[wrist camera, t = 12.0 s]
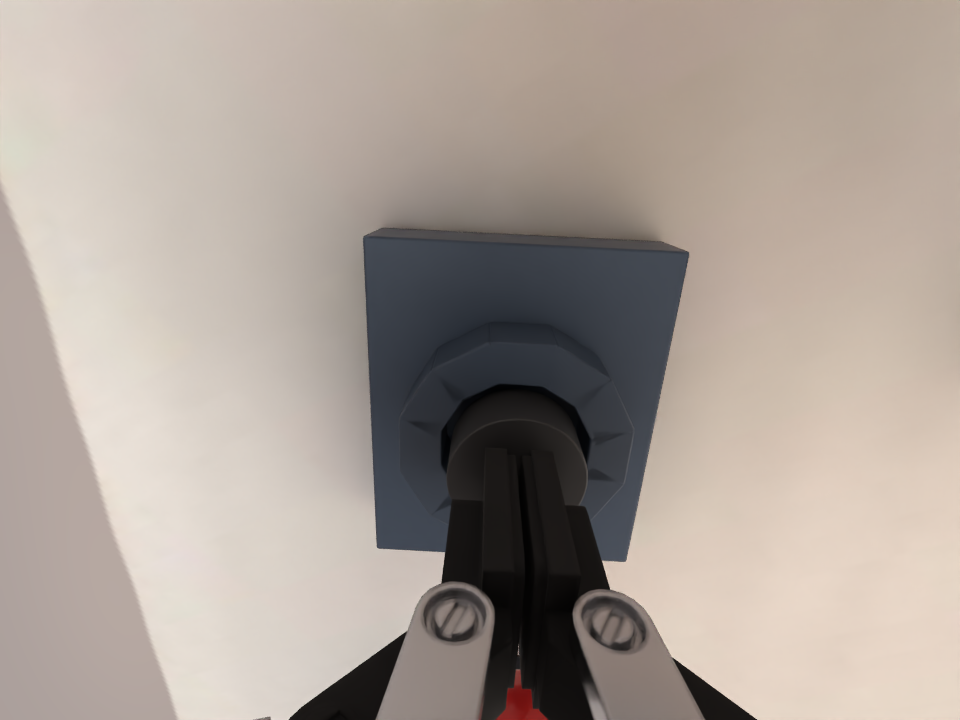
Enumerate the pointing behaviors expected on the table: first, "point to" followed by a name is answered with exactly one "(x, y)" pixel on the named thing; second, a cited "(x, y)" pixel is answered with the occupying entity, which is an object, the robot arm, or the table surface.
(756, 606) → the table surface
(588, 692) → the robot arm
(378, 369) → the button box
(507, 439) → the stop button
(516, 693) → the switch lever
